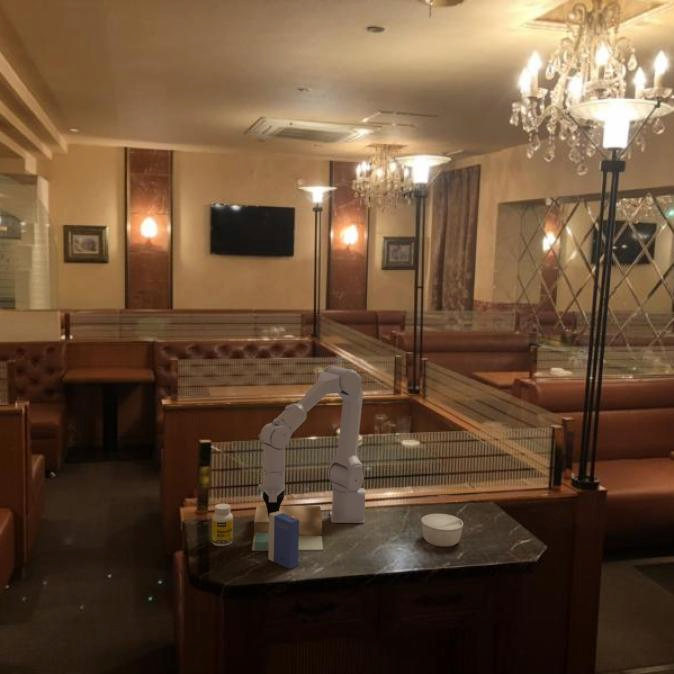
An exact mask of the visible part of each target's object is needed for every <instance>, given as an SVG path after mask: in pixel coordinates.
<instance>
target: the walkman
mask: <svg viewBox="0 0 674 674" xmlns="http://www.w3.org/2000/svg"><path fill="white" fill-rule="evenodd" d="M298 546H299V519H296V517H294V516H289V515H286V514H284V513H281V512H278V511H277V512H273V513H270V514H269V551H268V556H267V557H268V560H270V561H271V562H274V563H275V564H277V565H280V566H283V567H285V568H286V569H289V570H291V569H294V568H296V567H298V566H299V551H298Z"/></svg>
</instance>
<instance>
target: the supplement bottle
mask: <svg viewBox="0 0 674 674" xmlns="http://www.w3.org/2000/svg"><path fill="white" fill-rule="evenodd" d="M233 533H234V515H233V514H232V513H231V505H230V504H228V503H218V504H216V505H215V506H214V513H213V514H212V517H211V544H213V546H217V547H225V546H229V545H231V544H232V543H233V537H234V536H233Z"/></svg>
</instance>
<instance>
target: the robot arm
mask: <svg viewBox="0 0 674 674" xmlns="http://www.w3.org/2000/svg"><path fill="white" fill-rule="evenodd" d="M331 394H337V395H338V396H339V397H340V398H341V399H342V407H341V416H340V427H339V437H338V445H337V446H338V447H337V453H336V454H335V455H333V457H332V458H331V461H330V462H331V463H330V465H329V467H328V470H327V477H328V480H329V481H330V482H331V487H332V497H331V500H332V501H331V503H332V504H331V510H330V511H329V516H330V523H331V524H333V523H334V524H338V523H340V524H364V523H365V514H366V492H365V491H366V490H365V488H364V487H362V485H363V483H364V479H365V478H364V477H365V476H364V472H363V463H362V462H361V461H360V459H359V457H358V448H359V447H358V445H359V437H360V426H361V420H362V419H361V416H362V407H363V400H364V399H363V398H364V395H363V394H364V393H363V390H362V376H361V375H360V374H359V373H358V372H357V371H356V370H355V369H349V368H345V367H344V368H343V367H341V366H336V365H334V364H333V365H328V366H327V367H326V368H325V369H324V370H323V371H321V372H320V374H319V377H318V378H317V381H316V382H315V383H314V384H313V385H312V387H310V388H309V390H308V391H306V393H305V394H304V395H303V397H302V398H301V399H300V400H299V402H297V403H290V404H287V405H286V406H285V407H284V410H283V411H282V412H281V413H280V414H279V415H278V416H277V417H276V418H274V419H273V421H272V422H270V423H267V424H265V425H264V426H263V427H262V429H261V431H260V433H259V434H258V438H259V441H260V442H261V443H262V450H263V452H262V453H263V455H262V483H261V484H258V485H257V487H258V489H259V490H263V492H262V499H263V502H264V503H265V506H266V507H267V512H268V517H269V514H270V513H273V512H277V511H278V512H279V509H280V506H282V505H281V504H282V502H283V500H284V498H285V490H286V484H285V477H286V476H285V473H286V447H287V446H288V445H289V443H290V441H291V438H292V435H293V433H294V432H295V431H296V430H297V429H298V428H299V427H300V426H301V425H302V424H303V423H304V422H305V421H306V419H307V418H308V417H307V415H308V414H307V413H308V412H309V411H310V410H311V409H313V407H314V406H316V405H317V404H318V403H319V402H320V401H321V400H322V399H324V398H325V397H326V396H327V395H331Z"/></svg>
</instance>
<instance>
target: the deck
mask: <svg viewBox="0 0 674 674" xmlns="http://www.w3.org/2000/svg"><path fill="white" fill-rule="evenodd" d="M321 508H322V507H321V505H280V509H279V512H281V513H284V514H286V515H289V516H294V517H296V519H299V536H322V535H323V534H322V533H323V517H322V516H323V515H322V509H321ZM253 522H254V524H253V537H254V536H256V533H269V517H268V512H267V507H266V505H256V508H255V514H254V520H253ZM322 537H323V536H322Z"/></svg>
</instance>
